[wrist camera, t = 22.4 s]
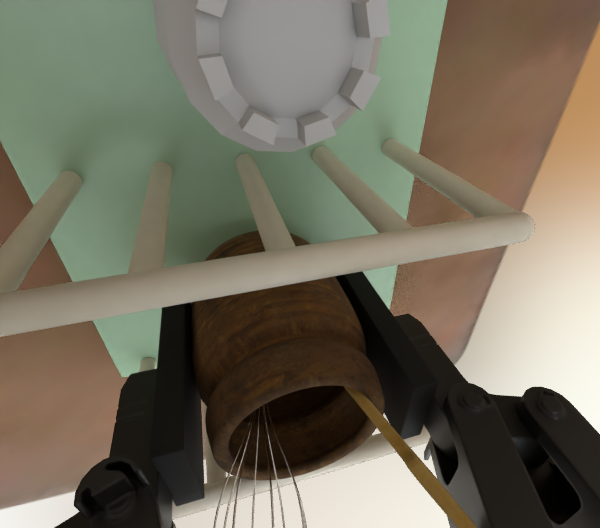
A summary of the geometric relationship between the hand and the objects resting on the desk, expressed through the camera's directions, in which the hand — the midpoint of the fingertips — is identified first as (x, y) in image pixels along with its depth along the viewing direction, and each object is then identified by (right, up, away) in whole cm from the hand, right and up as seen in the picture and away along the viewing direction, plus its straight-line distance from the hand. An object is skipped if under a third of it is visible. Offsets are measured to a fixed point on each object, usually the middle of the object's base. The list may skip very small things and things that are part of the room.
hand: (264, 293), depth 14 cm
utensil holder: (0, +1, +1) cm, 1 cm away
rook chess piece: (-1, +9, -4) cm, 9 cm away
